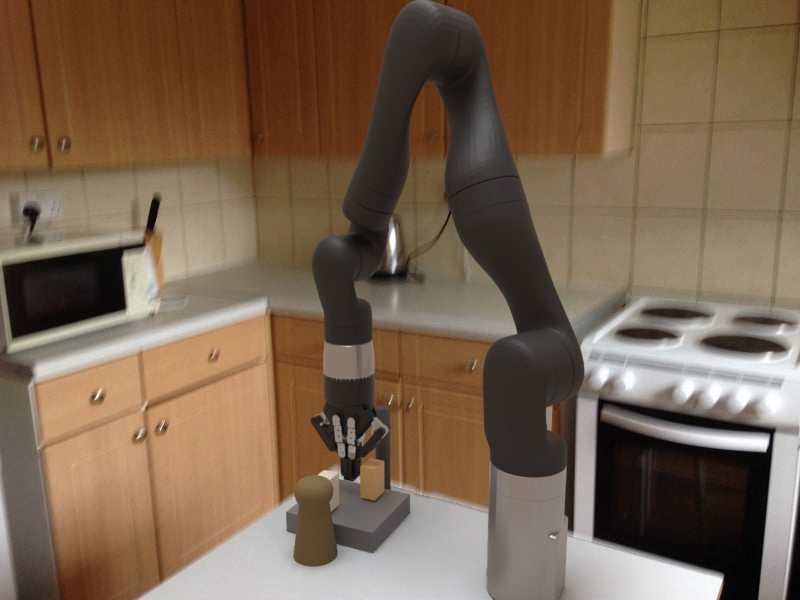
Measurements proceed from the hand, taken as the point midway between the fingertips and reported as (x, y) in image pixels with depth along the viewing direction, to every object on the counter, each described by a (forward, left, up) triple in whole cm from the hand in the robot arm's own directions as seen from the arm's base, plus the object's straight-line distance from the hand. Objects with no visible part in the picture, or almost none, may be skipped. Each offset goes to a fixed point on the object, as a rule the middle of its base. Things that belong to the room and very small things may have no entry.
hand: (351, 478), depth 111 cm
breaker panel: (-1, +3, -5) cm, 6 cm away
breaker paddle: (-4, 0, -2) cm, 4 cm away
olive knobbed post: (-1, +13, -5) cm, 14 cm away
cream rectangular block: (+1, +6, -2) cm, 7 cm away
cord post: (-1, -8, -5) cm, 10 cm away
